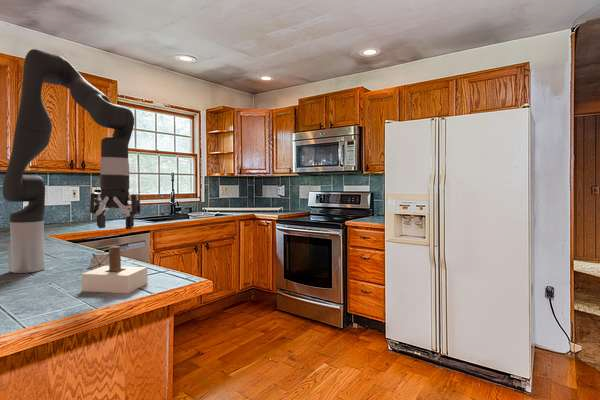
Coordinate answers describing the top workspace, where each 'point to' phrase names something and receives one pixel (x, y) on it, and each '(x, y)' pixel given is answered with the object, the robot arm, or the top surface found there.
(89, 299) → the top surface
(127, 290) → the hole block
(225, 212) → the top surface
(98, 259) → the game die
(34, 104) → the robot arm
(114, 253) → the peg
